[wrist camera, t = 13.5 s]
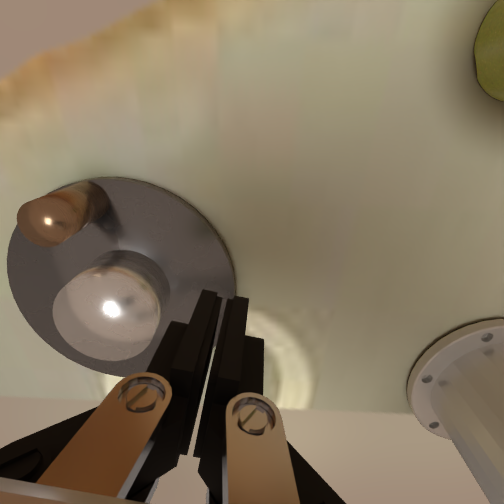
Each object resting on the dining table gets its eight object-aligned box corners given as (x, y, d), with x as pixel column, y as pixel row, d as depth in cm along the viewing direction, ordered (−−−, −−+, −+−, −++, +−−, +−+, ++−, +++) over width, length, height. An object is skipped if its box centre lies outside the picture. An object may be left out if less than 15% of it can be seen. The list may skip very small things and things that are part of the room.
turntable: (136, 125, 20) (90, 129, 14) (275, 311, 25) (282, 367, 19) (-31, 258, 23) (-120, 302, 18) (121, 396, 28) (89, 464, 23)
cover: (131, 233, 21) (105, 257, 18) (187, 298, 23) (174, 332, 19) (67, 277, 23) (30, 309, 19) (125, 336, 24) (102, 374, 21)
